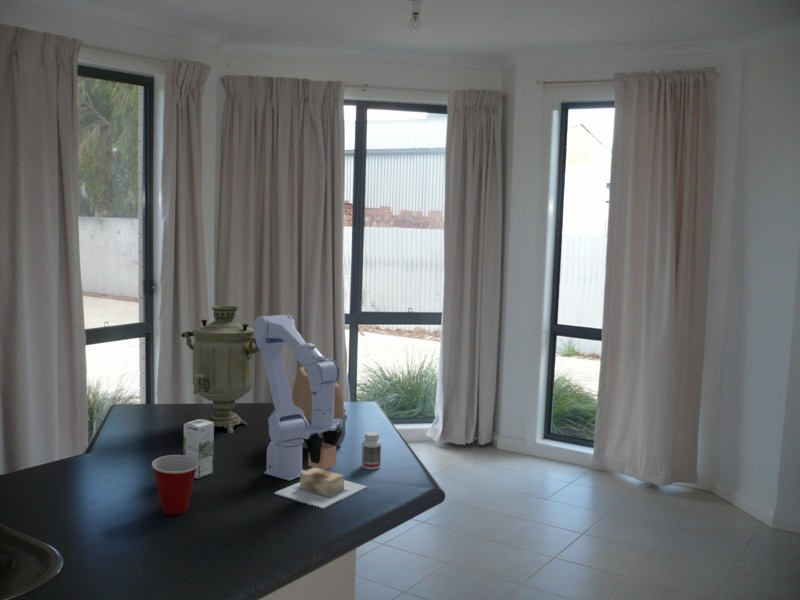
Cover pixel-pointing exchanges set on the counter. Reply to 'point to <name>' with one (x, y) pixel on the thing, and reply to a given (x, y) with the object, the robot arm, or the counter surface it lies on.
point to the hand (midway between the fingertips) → (322, 459)
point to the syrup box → (200, 445)
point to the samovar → (223, 363)
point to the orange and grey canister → (304, 401)
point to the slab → (322, 481)
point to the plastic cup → (175, 481)
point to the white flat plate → (317, 498)
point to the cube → (325, 457)
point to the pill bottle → (371, 451)
